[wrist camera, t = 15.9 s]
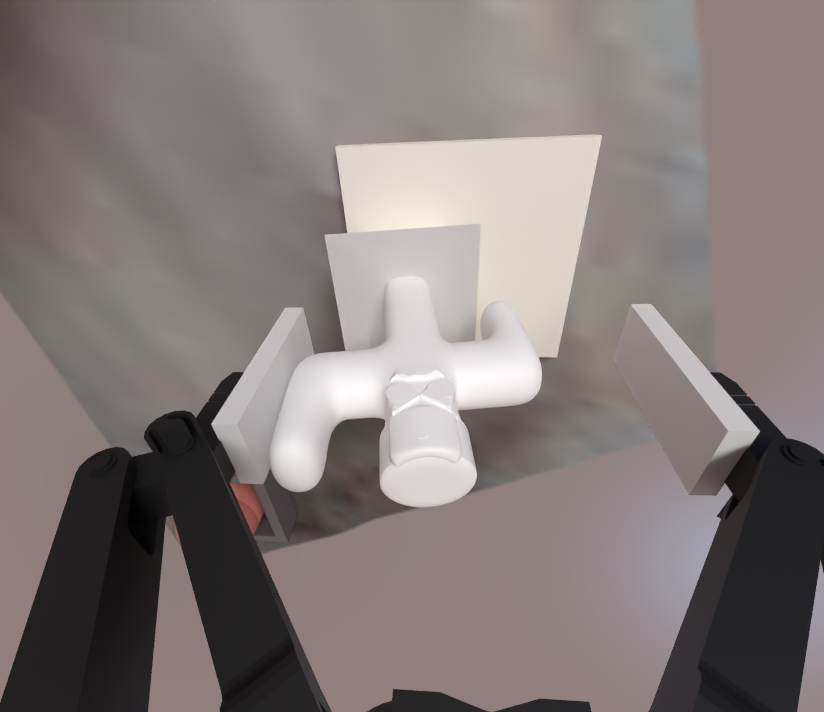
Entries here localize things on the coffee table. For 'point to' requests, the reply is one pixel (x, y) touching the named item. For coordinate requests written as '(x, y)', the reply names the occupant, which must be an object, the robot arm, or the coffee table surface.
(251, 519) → the pink ball
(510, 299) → the game square
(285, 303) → the coffee table surface
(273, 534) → the housing
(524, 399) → the white faucet
